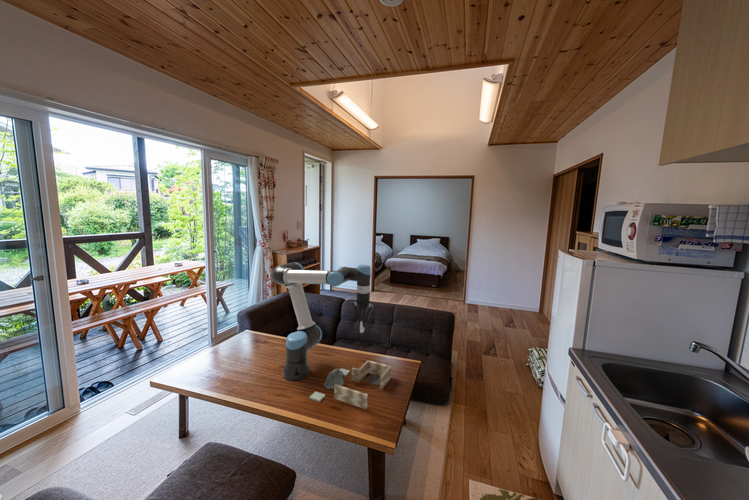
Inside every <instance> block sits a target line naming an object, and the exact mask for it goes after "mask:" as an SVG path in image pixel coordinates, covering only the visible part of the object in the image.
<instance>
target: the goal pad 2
mask: <svg viewBox="0 0 749 500" xmlns="http://www.w3.org/2000/svg"><path fill="white" fill-rule="evenodd" d="M339 370H340V371H342V372H343V374H344V377H347V376H348V375H349V373H351V371H350V370H349V369H345V368H342V367H341V368H339Z"/></svg>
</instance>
